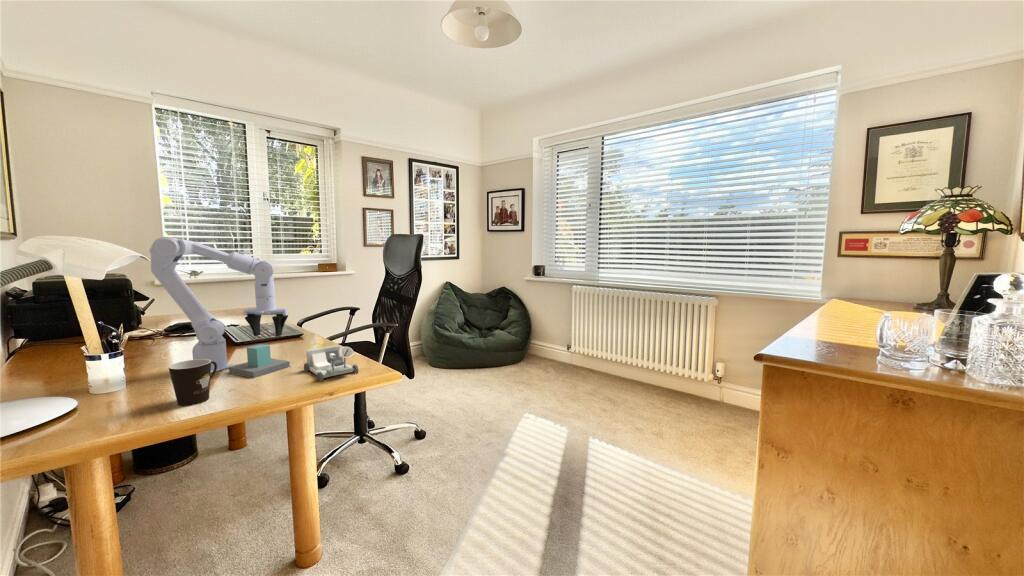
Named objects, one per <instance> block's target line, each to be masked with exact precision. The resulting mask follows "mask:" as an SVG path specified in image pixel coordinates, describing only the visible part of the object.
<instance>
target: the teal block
mask: <svg viewBox="0 0 1024 576" xmlns="http://www.w3.org/2000/svg"><path fill="white" fill-rule="evenodd" d="M246 353H247V354H246V357H247V362H248V366H253V367H260V366H264V365H267V364H270V363H271V358H272V357H271V345H269V344H262V343H259V344H255V345H252V346H247V347H246Z"/></svg>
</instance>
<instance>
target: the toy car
mask: <svg viewBox="0 0 1024 576" xmlns="http://www.w3.org/2000/svg"><path fill="white" fill-rule="evenodd" d="M353 355H354V350H353V349H352V348H351V347H349V346H342V347H341V348H340V346H339V345H332V346H326V347H321V348H315V349H308V350H306V362H304V364H303V370H305V371H304V372H306V373H307V372H308V371H309V372H312V373H313V374H314V375H316V378H317V381H318V380H319V381H318V382H320V381H321V382H324V379H325V378H330V377H333V376H339V375H344V374H347V373H354V372H355V373H356V374H359V366H358V365H357V364H352V365H349V364H347V362H346V359H349V358H350V357H352V356H353ZM355 373H354V374H355Z"/></svg>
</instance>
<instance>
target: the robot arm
mask: <svg viewBox="0 0 1024 576" xmlns="http://www.w3.org/2000/svg"><path fill="white" fill-rule="evenodd" d="M149 253H150V263H151V264H150V270H151V273H152V274H153V275H154V277H155V278H156V279H157V281H158V282H159V283H160V284H161V285H162V287H163V288H164V289H165V290H166V292H167V293H168V294H169V295H170V296H171V298H172V299H173V301H174V302H175V303H176V305H177V306H179V308H180V310H182V312H183V313H184V314H185V316H186V317H187V318H188V319H189V321H190V323H191V324H190V325H191V327H192V329H193V330H194V332H195V336H196V339H197V340H198V341H197V342H196V343H195V345H194V346H193V347H192V351H191V352H192V353H191V354H192V360H195V359H209V360H211V361H214V362H216V364H217V370H216V372H219V371H222V370H226V369H229V367H231V366H235V365H234V364H231V363H228V354H227V341H226V338H224V336H223V335H224V334H225V331H226V326H225V324H224V322H222V321H221V320H218V319H216V317H215V316H214V315H212V313H210V312H209V311H207V309H206V308H205V306H204V305H203V304H202V303H201V302H200V300H199V299H198V298H197V296H196V295H195V294H194V293H193V291H192V290H191V288H190V287H189V286H188V285H187V284H186V283H185V281H184V279H182V277H181V276H180V275H179V273H178V272H177V271H176V266H177V265H178V262H179V260H180V259H181V258H182V257H183V256H186V255H198V256H201V257H204V258H208V259H211V260H213V261H214V260H215V261H218V262H222V263H225V264H226V266H227V268H228V269H231V270H235V271H237V272H240V273H243V274H246V275H253V276H254V295H255V297H254V298H255V308H245V309H243V315H244V316H245V317H244V319H245V321H246V322H247V323H248V325H249V327H250V329H251V331H252V334H253V336H254V337H258V336H260V335H261V320H262V319H261V318H262V316H272V317H271V319H272V322H273V325H274V332H275V336H276V337H281V336H282V334H283V330H284V326H285V324H286V322H287V319H288V317H289V315H290V310H289V308H277V305H276V303H277V302H276V291H275V290H276V287H275V280H274V279H275V278H274V271H275V269H274V266H273V264H272V263H270V262H269V261H267V260H261V258H260V257H256V258H255V257H253V256H250V255H247V254H245V252H243V251H239V252H238V251H233V252H230V253H227V252H225V251H223V250H220V249H216V248H214V247H211V246H208V245H205V244H203V243H200V242H197V241H192V240H190V239H189V240H188V239H181V238H179V237H176V236H175V237H174V236H171V237H169V236H161V237H158V238H156V239H155V240H154V241H153V243H152V245H151V247H150V248H149ZM213 371H214V364H212V363H211V373H210V374H212V373H213Z"/></svg>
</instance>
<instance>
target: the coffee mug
mask: <svg viewBox="0 0 1024 576" xmlns="http://www.w3.org/2000/svg"><path fill="white" fill-rule="evenodd" d="M211 363H212V364H214V371H213V372H212V373H211ZM216 370H217V364H216V362H214V361H211V360H209V359H195V360H193V359H190V360H189V359H188V360H184V361H183V360H182V361H179V362H175V363H172V364H170V365H168V371H169V376H170V379H171V383H172V387H173V390H174V391H173V392H174V395H175V398H176V402H177V405H178V406H179V405H180V406H179V407H187V406H188V407H189V406H194V405H195V406H196V405H199V404H202V403H205V402H207V401H209V399H210V390H211V389H210V387H211V380H212V378H213V377H214V376H215V374H216V372H217V371H216Z"/></svg>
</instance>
